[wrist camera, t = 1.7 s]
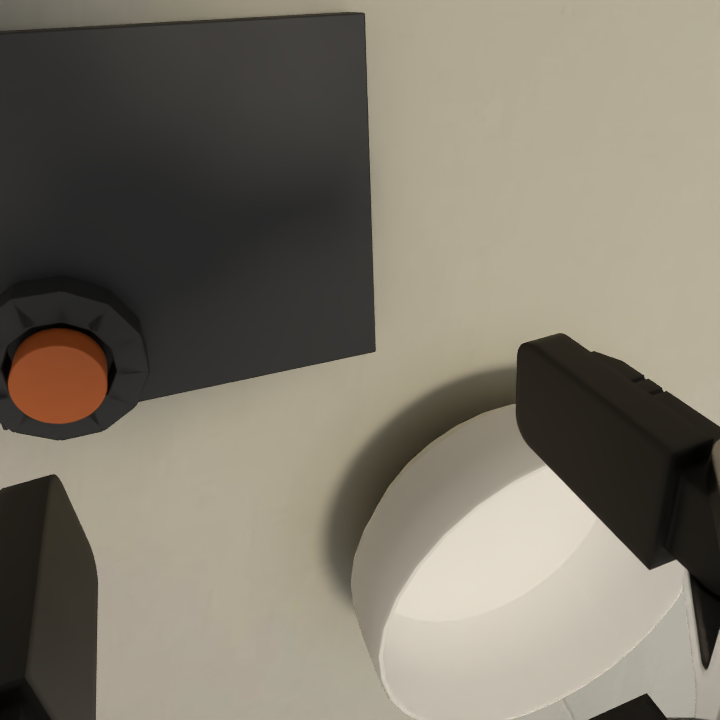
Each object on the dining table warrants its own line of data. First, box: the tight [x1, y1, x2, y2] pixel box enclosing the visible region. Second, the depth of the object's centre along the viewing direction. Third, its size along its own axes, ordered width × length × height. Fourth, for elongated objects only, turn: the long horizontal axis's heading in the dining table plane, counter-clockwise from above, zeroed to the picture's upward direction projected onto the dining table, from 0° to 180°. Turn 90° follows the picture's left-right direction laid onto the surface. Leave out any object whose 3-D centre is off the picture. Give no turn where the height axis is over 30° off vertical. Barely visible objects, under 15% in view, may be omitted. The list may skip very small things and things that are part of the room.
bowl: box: [351, 404, 685, 720], centre depth 36 cm, size 20×20×8 cm
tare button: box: [8, 328, 108, 424], centre depth 23 cm, size 3×3×2 cm
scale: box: [0, 12, 376, 440], centre depth 24 cm, size 16×14×4 cm
